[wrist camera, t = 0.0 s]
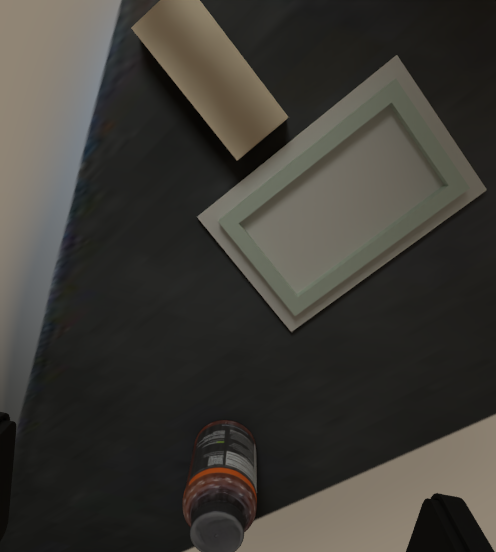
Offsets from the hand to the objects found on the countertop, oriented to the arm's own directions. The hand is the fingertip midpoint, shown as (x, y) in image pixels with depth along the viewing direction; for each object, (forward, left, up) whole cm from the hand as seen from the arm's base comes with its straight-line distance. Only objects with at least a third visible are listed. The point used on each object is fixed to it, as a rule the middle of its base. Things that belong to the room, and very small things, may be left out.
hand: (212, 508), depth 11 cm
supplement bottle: (+14, +14, -31) cm, 37 cm away
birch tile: (-6, -12, -32) cm, 34 cm away
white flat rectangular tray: (-8, +2, -31) cm, 32 cm away
